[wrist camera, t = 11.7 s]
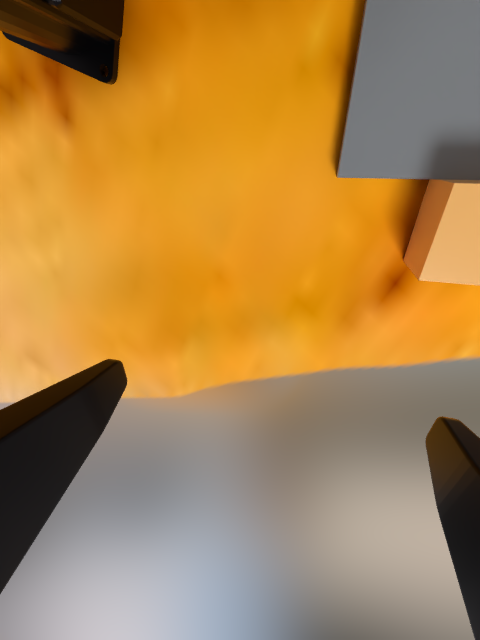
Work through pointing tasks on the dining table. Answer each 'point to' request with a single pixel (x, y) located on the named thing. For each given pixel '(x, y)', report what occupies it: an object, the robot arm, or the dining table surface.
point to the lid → (422, 124)
